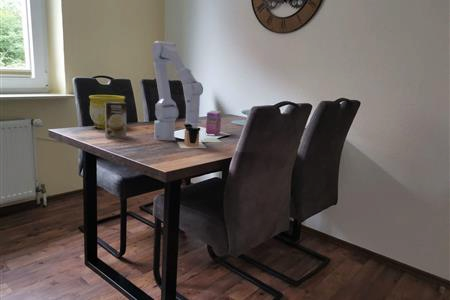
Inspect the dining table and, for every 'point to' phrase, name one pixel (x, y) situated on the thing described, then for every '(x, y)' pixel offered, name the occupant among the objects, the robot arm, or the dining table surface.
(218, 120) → the box
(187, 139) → the block
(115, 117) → the coffee box
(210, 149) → the dining table surface
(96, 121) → the flowerpot
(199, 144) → the plate
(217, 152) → the dining table surface
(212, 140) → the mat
